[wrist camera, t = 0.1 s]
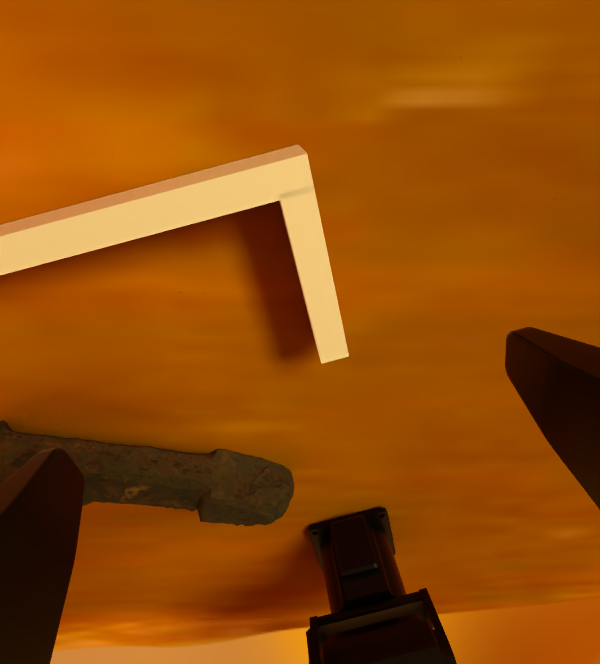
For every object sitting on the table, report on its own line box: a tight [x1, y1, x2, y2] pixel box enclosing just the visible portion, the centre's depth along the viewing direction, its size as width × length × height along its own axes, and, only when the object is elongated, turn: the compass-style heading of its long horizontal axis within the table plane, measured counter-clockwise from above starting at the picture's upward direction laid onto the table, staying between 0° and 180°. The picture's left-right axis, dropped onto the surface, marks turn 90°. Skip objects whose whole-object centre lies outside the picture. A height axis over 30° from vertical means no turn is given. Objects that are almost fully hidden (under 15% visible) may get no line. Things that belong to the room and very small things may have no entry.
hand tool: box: [0, 420, 294, 526], centre depth 27 cm, size 19×4×5 cm, turn 72°
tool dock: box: [0, 145, 349, 364], centre depth 21 cm, size 10×27×3 cm, turn 103°
